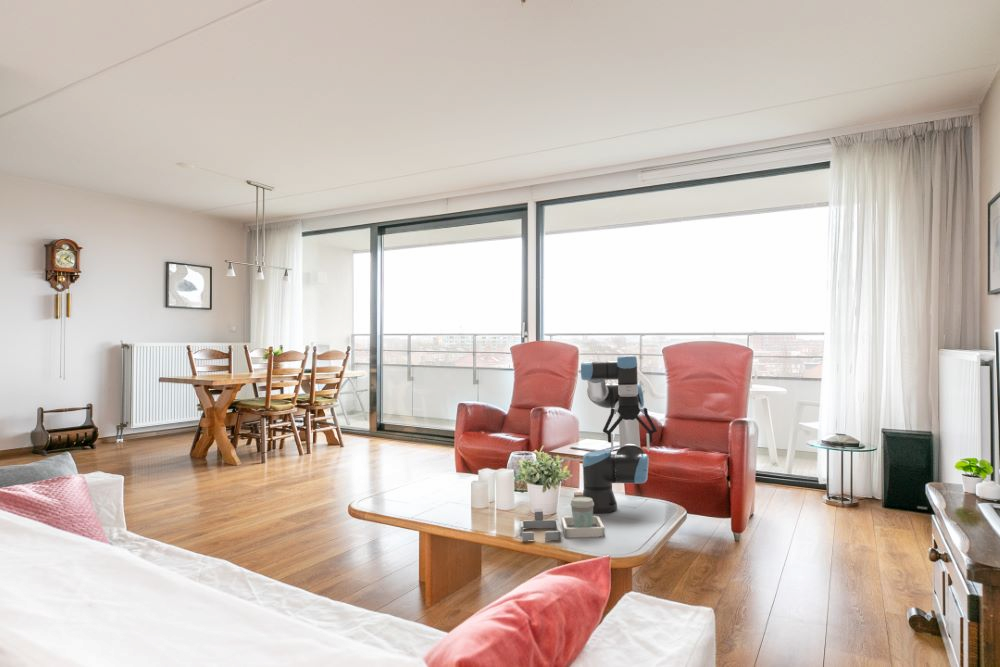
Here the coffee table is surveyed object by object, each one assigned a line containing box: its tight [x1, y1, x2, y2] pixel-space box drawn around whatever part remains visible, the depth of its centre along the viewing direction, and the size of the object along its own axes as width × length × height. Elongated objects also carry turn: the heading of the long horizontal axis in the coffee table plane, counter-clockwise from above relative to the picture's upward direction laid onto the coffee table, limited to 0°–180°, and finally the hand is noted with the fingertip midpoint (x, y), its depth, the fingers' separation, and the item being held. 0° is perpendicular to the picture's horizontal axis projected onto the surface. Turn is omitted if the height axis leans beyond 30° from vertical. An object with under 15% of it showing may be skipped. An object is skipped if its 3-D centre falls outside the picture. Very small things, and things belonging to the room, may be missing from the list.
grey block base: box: [519, 508, 563, 542], centre depth 216 cm, size 19×14×6 cm
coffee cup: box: [569, 497, 594, 528], centre depth 215 cm, size 9×8×12 cm
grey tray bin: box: [560, 491, 606, 538], centre depth 220 cm, size 19×14×11 cm
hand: (630, 451), depth 229 cm, fingers open, 13 cm apart
